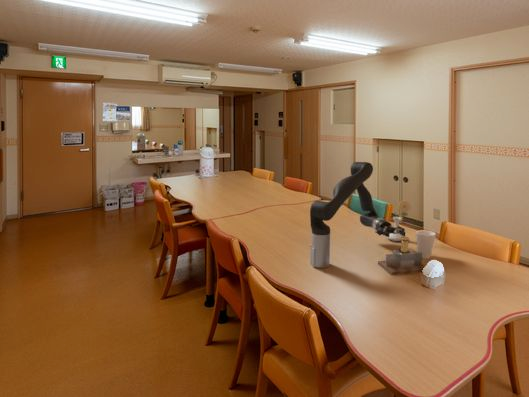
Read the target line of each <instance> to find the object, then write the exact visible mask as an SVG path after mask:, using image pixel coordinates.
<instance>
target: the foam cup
mask: <svg viewBox="0 0 529 397" xmlns="http://www.w3.org/2000/svg"><path fill="white" fill-rule="evenodd" d="M415 232H416V233H415V237H416V248H417V249H416V252H422V259H429V258H431V256H432V252H433V248H434V244H435V240H436V236H437V235H436V233H435V232H434V231H431V230H423V229H422V230H416V231H415Z"/></svg>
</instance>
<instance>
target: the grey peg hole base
mask: <svg viewBox="0 0 529 397" xmlns="http://www.w3.org/2000/svg"><path fill="white" fill-rule="evenodd" d="M385 261H386V260H378V261H377V265H379V266H380V267H381V268H382V269H384V270H385V271H386V272H387V273H388V274H390V275H391V276H397V275H407V274H419V273H423V272H422V270H423V268H424V267H425V266H426V265H425V264H424V263H423V262H422V263H421V264H414V267H408V268H400V267H398V266H388V267H386V266H385Z"/></svg>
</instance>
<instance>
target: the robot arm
mask: <svg viewBox="0 0 529 397" xmlns="http://www.w3.org/2000/svg"><path fill="white" fill-rule="evenodd" d="M373 170H374V167H373V164H372V163H370V162H367V161H363V162H362V161H354V162H352V164H351V166H350V174H351V175H349V176H346V177H344V178H342V179H341V180H340V181H338V182H337V183H336V184H335V186H334V187H333V192H332V195H333V196H332V197H333V198H332V199H331V200H329V201H322V200H315V201H313V202H312V203H311V204H310V210H309V218H310V221H309V222H310V229H311V245H310V247H309V248H310V249H309V250H310V251H309V252H310V253H309V255H310V256H309V258H310V259H309V261H310V262H309V263H310V265H311V266H312V267H313V268H317V269H323V268H325V269H326V268H329V267H330V265H331V264H330V263H331V262H330V261H331V260H330V259H331V258H330V256H331V254H330V253H331V226H329V225H328V224H327V223H326V222H328V221H330V220H332V219H333V218H334V217H335V215H336V214H337V212H338V211H339V210H340V207H342V205H343V204H344V203H345V202H346V201H347V199H349V198H350V197H351V196H352V195H353V193H354V192H355V191H356V192H357V194H358V199H359V204H360V209H361V210H362V211H363V212H365V213H363V214H361V215H360V217H359V222H360V223H361V224H362V226H365V227H369V228H372V229H374V230H375V232H374V233H376V235H378V236H381V235H382V236H385V237H386V238H387V237H389V235H390V234H400V235H402V236H406V232H405V231H406V230H405V228H403V227H401V226H400V225H399V226H397V227H395V226H393V225H392V224H391V222H390V221H387V219H384V218H382V217H381V216H380V217H379V215H378V213H377V210H375V207H374V203H373V197H372V194H371V192H370V191H369V189H367V187H366V186H365V185H364V183H365V182H366V181H367V180H368V179H369V178H371V177H372V174H373V172H374V171H373ZM395 230H396V232H395ZM389 233H390V234H389Z"/></svg>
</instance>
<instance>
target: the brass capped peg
mask: <svg viewBox="0 0 529 397" xmlns="http://www.w3.org/2000/svg"><path fill="white" fill-rule="evenodd" d="M401 240H402V241H401V245H400V249H401V253H407V250H409V248H408V247H409V241H410V238H409V237H408V236H406V237H401Z"/></svg>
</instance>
